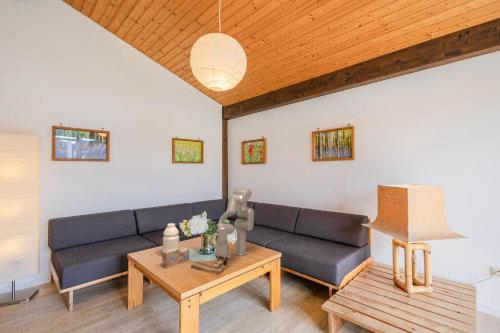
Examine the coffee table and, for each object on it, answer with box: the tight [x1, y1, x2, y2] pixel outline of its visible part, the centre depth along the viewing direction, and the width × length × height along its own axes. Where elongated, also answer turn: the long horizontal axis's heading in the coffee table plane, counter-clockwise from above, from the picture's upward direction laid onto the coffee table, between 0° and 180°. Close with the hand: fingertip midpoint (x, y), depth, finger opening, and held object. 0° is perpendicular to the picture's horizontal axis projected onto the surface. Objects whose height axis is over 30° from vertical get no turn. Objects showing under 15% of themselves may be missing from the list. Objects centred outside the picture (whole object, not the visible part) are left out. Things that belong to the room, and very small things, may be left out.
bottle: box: [162, 222, 180, 251], centre depth 210 cm, size 14×14×28 cm
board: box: [190, 260, 227, 275], centre depth 184 cm, size 11×26×2 cm, turn 66°
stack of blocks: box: [161, 247, 190, 269], centre depth 193 cm, size 21×6×12 cm, turn 140°
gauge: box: [214, 257, 225, 267], centre depth 185 cm, size 12×5×6 cm, turn 156°
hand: (222, 264), depth 188 cm, fingers closed on gauge, 5 cm apart
